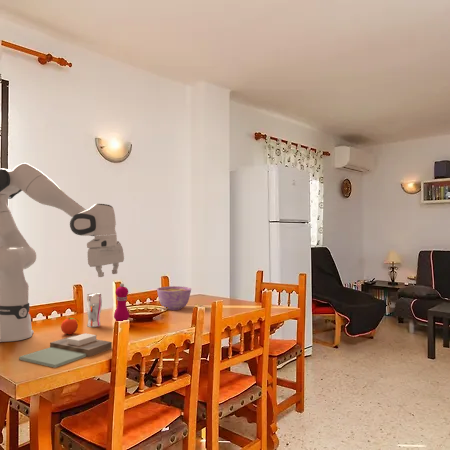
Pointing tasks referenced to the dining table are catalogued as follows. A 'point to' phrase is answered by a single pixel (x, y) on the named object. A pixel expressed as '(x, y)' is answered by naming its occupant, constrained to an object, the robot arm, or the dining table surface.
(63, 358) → the mat
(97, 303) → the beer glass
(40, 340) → the dining table surface
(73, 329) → the tomato
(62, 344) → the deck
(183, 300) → the bowl of food
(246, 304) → the dining table surface
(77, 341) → the white rectangular block
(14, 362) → the dining table surface
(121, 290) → the pepper mill
